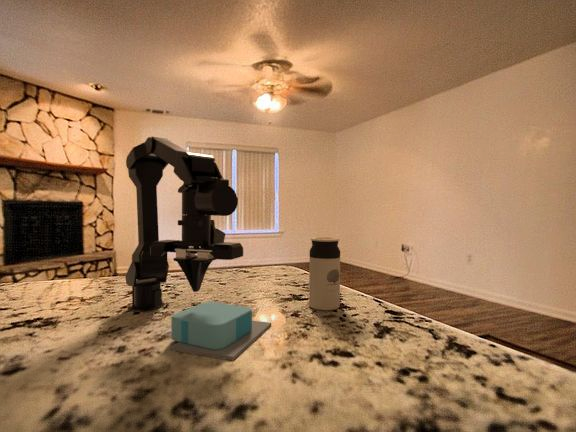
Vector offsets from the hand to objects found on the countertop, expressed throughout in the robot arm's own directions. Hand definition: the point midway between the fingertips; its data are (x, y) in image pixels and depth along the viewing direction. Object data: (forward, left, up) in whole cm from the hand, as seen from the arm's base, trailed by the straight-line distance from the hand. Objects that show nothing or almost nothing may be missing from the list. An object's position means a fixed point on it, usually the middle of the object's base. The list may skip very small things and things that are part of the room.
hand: (196, 291), depth 69 cm
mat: (+7, 0, -8) cm, 11 cm away
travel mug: (+21, +27, -9) cm, 35 cm away
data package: (-2, 0, -6) cm, 6 cm away
